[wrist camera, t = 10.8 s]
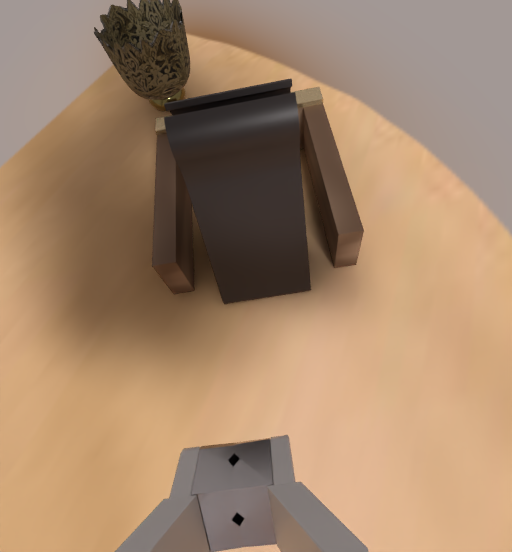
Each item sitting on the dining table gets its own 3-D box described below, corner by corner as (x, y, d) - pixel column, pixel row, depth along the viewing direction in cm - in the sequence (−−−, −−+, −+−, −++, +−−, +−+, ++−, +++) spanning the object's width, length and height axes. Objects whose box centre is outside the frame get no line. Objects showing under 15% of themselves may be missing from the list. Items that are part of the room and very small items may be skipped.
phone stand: (217, 205, 29) (165, 55, 18) (290, 192, 28) (280, 32, 18) (224, 305, 24) (160, 183, 14) (310, 292, 24) (312, 157, 14)
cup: (147, 80, 38) (111, -6, 31) (212, 78, 37) (189, -12, 30) (124, 127, 35) (79, 43, 28) (195, 127, 34) (165, 38, 27)
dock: (173, 293, 25) (149, 262, 21) (174, 160, 32) (155, 118, 28) (356, 264, 24) (364, 226, 21) (317, 133, 31) (319, 86, 27)
